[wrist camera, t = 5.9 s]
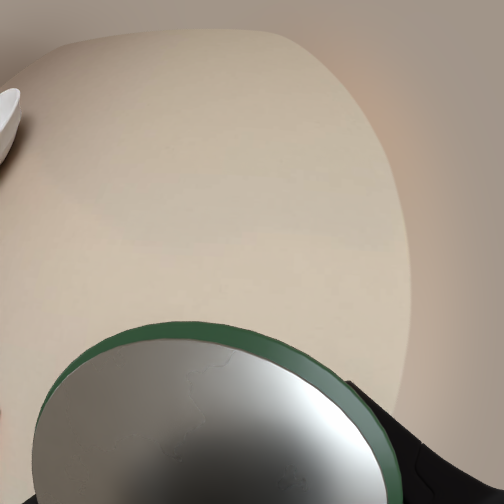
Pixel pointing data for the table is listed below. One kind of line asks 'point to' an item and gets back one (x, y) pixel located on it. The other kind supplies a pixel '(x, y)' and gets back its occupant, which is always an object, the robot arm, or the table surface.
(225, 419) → the can
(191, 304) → the table surface
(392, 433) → the robot arm
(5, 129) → the bowl
